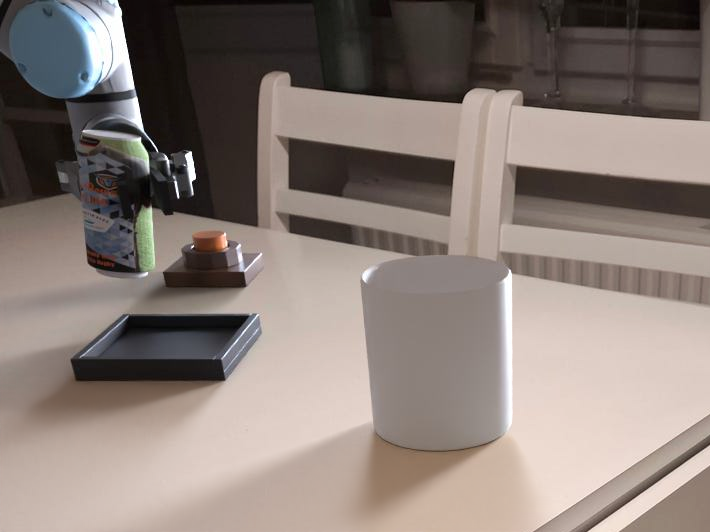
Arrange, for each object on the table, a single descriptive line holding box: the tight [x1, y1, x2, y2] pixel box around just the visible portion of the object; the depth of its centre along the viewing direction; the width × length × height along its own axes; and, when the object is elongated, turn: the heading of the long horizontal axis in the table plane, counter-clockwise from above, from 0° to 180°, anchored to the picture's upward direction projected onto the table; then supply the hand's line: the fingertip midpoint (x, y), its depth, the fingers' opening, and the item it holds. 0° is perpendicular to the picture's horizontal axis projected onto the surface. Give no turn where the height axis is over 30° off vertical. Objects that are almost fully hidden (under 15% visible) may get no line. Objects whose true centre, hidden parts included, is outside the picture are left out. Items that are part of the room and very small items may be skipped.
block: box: [162, 239, 265, 288], centre depth 124 cm, size 10×9×4 cm
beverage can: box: [76, 130, 156, 279], centre depth 92 cm, size 6×7×12 cm
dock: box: [70, 313, 263, 381], centre depth 100 cm, size 15×15×2 cm
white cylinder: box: [359, 254, 513, 452], centre depth 81 cm, size 12×12×12 cm
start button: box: [191, 230, 228, 251], centre depth 122 cm, size 4×4×2 cm
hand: (146, 200), depth 88 cm, fingers closed on beverage can, 3 cm apart
